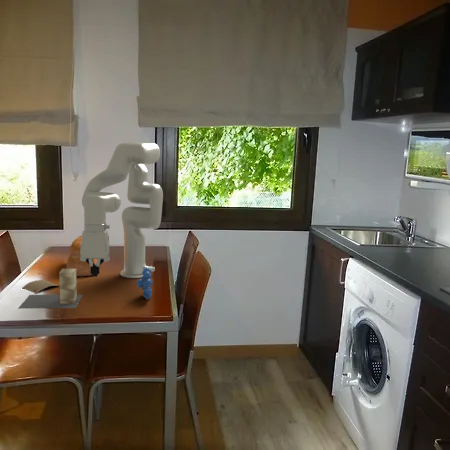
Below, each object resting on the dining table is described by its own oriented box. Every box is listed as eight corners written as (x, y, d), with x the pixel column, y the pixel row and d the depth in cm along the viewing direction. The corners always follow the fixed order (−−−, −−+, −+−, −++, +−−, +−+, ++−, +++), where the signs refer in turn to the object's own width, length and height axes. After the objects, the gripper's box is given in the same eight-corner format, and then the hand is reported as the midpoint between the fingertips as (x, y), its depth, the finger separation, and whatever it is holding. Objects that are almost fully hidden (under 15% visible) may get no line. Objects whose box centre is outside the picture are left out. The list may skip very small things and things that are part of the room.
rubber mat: (83, 295, 173) (83, 294, 173) (75, 309, 159) (75, 308, 159) (29, 295, 170) (29, 294, 170) (17, 309, 156) (17, 308, 156)
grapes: (135, 292, 179) (135, 264, 177) (151, 291, 181) (152, 263, 178) (136, 303, 168) (136, 272, 166) (154, 302, 170) (154, 272, 167)
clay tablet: (48, 282, 188) (48, 276, 187) (64, 287, 183) (64, 281, 182) (17, 291, 176) (17, 285, 175) (33, 297, 171) (33, 290, 170)
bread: (103, 261, 222) (103, 232, 219) (95, 277, 196) (95, 244, 194) (76, 261, 220) (75, 231, 217) (64, 277, 194) (63, 243, 192)
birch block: (76, 298, 168) (76, 268, 166) (74, 303, 163) (73, 272, 161) (63, 298, 168) (62, 268, 165) (60, 303, 163) (59, 272, 160)
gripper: (116, 226, 166) (116, 273, 169) (76, 225, 164) (76, 273, 167) (114, 230, 159) (114, 279, 162) (71, 229, 157) (72, 278, 160)
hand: (95, 275), depth 165 cm, fingers closed
